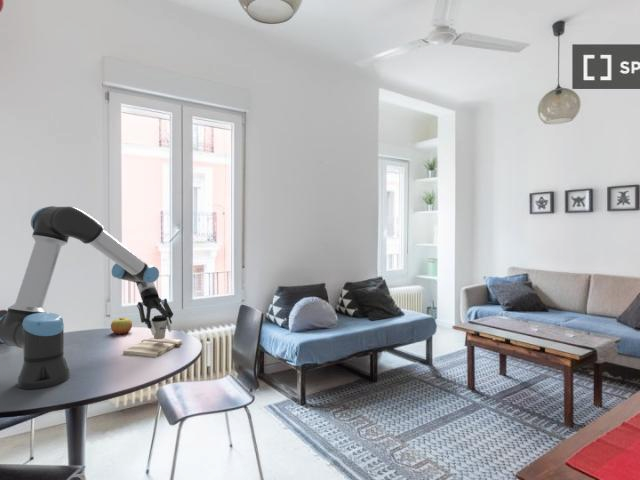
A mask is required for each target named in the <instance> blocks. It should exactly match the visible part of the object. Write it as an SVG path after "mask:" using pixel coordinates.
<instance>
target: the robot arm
mask: <svg viewBox="0 0 640 480" xmlns="http://www.w3.org/2000/svg"><path fill="white" fill-rule="evenodd" d="M30 227H31V228H32V231H33V232H32V235H31V237H32V238H33V240H34V245H33V247H32V252H31V254H30V257H29V260H28V263H27V266H26V269H25V273H24V275H23V278H22V281H21V285H20V288H19V291H18V294H17V297H16V300H15V303H13V304H12V305H10V306H9V307H7V308H8V309H7V311H6V314H4V315H3V316H1V317H0V342H1V343H3V344H5V345H6V346H9V347H15V348H19V349H23V362H22V367H21V369H20V373H19V376H18V377H17V387H18V388H19V389H23V390H37V389H44V388H49V387H52V386H55V385H59V384H61V383H64V382H65V381H67V380H68V379H69V378H70V376H71V374H70V371H71V370H70V368H69V366H68V363H67V361H66V359H65V356H64V355H65V352H64V351H65V350H64V347H65V345H64V343H65V342H64V334H65V333H64V330H65V329H64V328H65V324H64V320H63V316H61V315H60V314H57V313H52V312H47V311H46V309H45V308H44V303H45V301H46V299H47V298H46V297H47V294H48V291H49V288H50V284H51V281H52V277H53V275H54V272H55V269H56V265H57V262H58V258H59V255H60V252H61V248H62V247H63V246H65V245H67V244H68V242H69V238H74V239H76V240H79V241H81V242H82V243H83V244H85V245H88V244H89V245H90V246H91V247H93V248H94V249H96V250H97V251H99V252H100V253H101V254H103V255H104V256H105V257H107V258H108V259H109V260H111V261H112V262H114V264H113V266H112V269H111V275H112V277H113V278H114V279H115V278H116V279H118V280H124V281H128V282H132V283H135V284H136V286H137V290H138V293H139V295H140V298H141V301H139V302H138V303H137V305H136V308H137V309H138V312H139V318H140V322H141V323H144V324H145V325H146V327H147V329H150V332H151V334H152V336H154V335H155V333H156V330H155V327H154V324H153V322H152V319H151V311H152V310H153V309H155V310H157V311H158V312H159V313H160V314H161V315H164V316H165V317H167V323H166V329H167V330H168V332H169V333H171V332H172V330H173V326H172V323H173V322H172V318H173V316H174V313H173V311H172V309H171V308H170V305H169V303H168V299H167V298H164V299H161V297H160V296H159V293H158V290H157V287H156V285H155V282H156V281H157V280H158V279H159V277H160V271H159V269H158V267H156V266H153V265H148V263H146V262H144V260H142V259H141V258H139V257H138V256H137V255H136V254H135V253H133V252H132V251H131V250H130V249H128V248H127V247H126V246H125V245H124V244H122V243H121V242H119V241H118V239H116V238H114V236H112V235H111V234H109V233H108V232H107V231H106V230H105V229H104V225H102V224H101V223H100V222H99V221H98V220H97V219H95V218H94V217H93V216H92V215H90V214H88V213H86V212H85V211H83V210H82V209H80V208H77V207H74V206H55V205H52V206H51V205H50V206H46V207H42V208H39V209H38V210H36V211H35V212H34V213H33V215H32V217H31V219H30ZM144 307H146V312H145V311H144V309H145V308H144ZM145 313H146V315H145Z"/></svg>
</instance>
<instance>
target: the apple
mask: <svg viewBox="0 0 640 480" xmlns="http://www.w3.org/2000/svg"><path fill="white" fill-rule="evenodd" d="M132 327H133V321H132V320H131V319H130V318H129V317H118V318H115V319H113V320H112V322H111V323H110V329H111V331H112V333H114V334H116V335H124V334H127V333H128V332H130V331H131V330H132Z"/></svg>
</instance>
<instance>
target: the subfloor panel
mask: <svg viewBox="0 0 640 480" xmlns="http://www.w3.org/2000/svg"><path fill="white" fill-rule="evenodd" d="M182 344H183V340H182V339H175V338H166V337H165V338H163V339H154V336H152V337H150V338H148V339H142V340H141V342H139V343H137V344H135V345H132V346H130V347H128V348H126V349H123V350H122V354H123V355H131V356H139V357H141V356H142V357H150V358H157V357H159V356H160V355H162V354H164V353H167V352H168V351H170V350H172V349H174V348H179V347H181V345H182Z"/></svg>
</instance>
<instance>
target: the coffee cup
mask: <svg viewBox="0 0 640 480" xmlns="http://www.w3.org/2000/svg"><path fill="white" fill-rule="evenodd" d="M151 320H152V322H153V324H154V327H155V330H156V333H155V335H153V337H154V339H163V338H166V332H167V331H166V330H167V325H166V323H167V317H165V316H164V315H162V314H161V315H160V314H159V315H154V316H153V317H152V318H151Z"/></svg>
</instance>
